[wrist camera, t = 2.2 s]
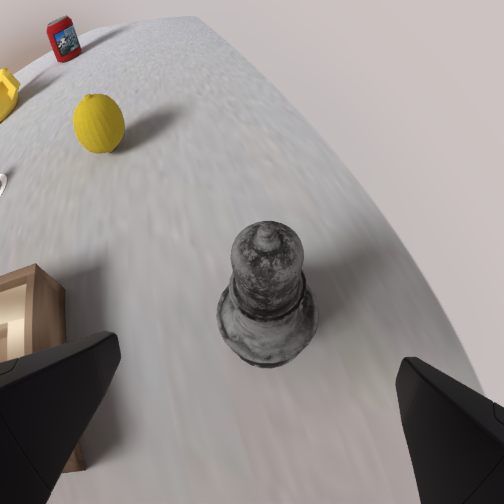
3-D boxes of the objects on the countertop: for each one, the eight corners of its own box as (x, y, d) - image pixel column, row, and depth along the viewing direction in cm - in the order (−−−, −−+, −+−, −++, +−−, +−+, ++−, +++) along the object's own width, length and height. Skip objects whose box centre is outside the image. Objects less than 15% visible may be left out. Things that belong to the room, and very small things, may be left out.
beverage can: (70, 62, 53) (56, 22, 43) (53, 66, 54) (39, 29, 44) (87, 49, 56) (75, 11, 46) (70, 53, 57) (57, 18, 47)
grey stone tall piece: (209, 350, 20) (146, 264, 10) (247, 278, 23) (230, 150, 12) (290, 386, 19) (319, 341, 8) (323, 309, 21) (370, 194, 11)
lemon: (82, 158, 32) (56, 105, 25) (117, 131, 34) (97, 78, 27) (103, 174, 30) (74, 116, 23) (142, 144, 32) (121, 85, 25)
